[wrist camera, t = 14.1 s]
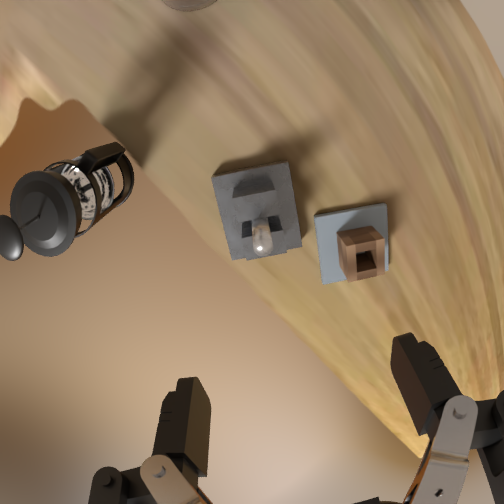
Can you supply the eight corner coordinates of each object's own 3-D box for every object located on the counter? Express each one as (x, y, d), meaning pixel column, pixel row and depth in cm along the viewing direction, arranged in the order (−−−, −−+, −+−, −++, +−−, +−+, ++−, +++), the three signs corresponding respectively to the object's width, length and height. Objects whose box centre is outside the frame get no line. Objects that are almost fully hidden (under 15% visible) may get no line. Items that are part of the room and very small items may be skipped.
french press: (110, 224, 44) (25, 311, 23) (66, 186, 41) (-37, 249, 20) (154, 163, 40) (69, 218, 19) (106, 123, 37) (-6, 145, 16)
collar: (336, 232, 44) (346, 246, 39) (371, 225, 43) (384, 238, 39) (339, 265, 46) (348, 282, 42) (372, 258, 46) (384, 274, 41)
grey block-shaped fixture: (212, 174, 41) (199, 200, 29) (286, 160, 40) (303, 179, 29) (232, 254, 46) (228, 304, 34) (300, 241, 45) (318, 287, 34)
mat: (313, 215, 44) (315, 217, 43) (384, 202, 43) (386, 204, 42) (321, 281, 48) (323, 284, 47) (385, 267, 48) (388, 270, 47)
